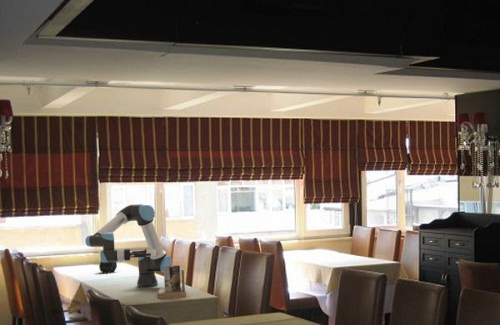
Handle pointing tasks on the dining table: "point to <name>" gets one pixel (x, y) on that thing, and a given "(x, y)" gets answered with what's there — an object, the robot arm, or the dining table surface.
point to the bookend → (182, 279)
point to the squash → (108, 266)
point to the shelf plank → (171, 293)
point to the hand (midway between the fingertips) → (156, 252)
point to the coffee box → (172, 278)
